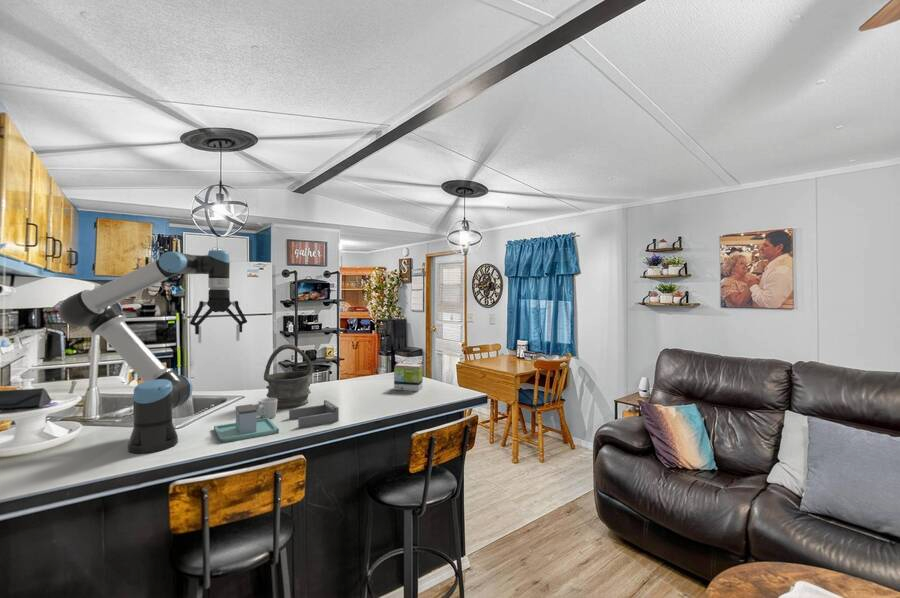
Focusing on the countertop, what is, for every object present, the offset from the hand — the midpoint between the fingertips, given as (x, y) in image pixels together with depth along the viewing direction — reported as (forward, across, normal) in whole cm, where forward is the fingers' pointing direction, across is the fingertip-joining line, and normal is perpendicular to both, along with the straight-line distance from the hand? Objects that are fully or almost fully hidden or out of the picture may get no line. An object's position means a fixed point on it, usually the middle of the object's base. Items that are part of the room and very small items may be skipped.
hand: (219, 341), depth 172 cm
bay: (+37, +37, -5) cm, 52 cm away
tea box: (+37, +101, +24) cm, 110 cm away
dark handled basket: (+37, +35, +30) cm, 59 cm away
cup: (+37, +20, +9) cm, 43 cm away
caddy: (+36, +9, -5) cm, 38 cm away
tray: (+37, +9, -5) cm, 38 cm away
